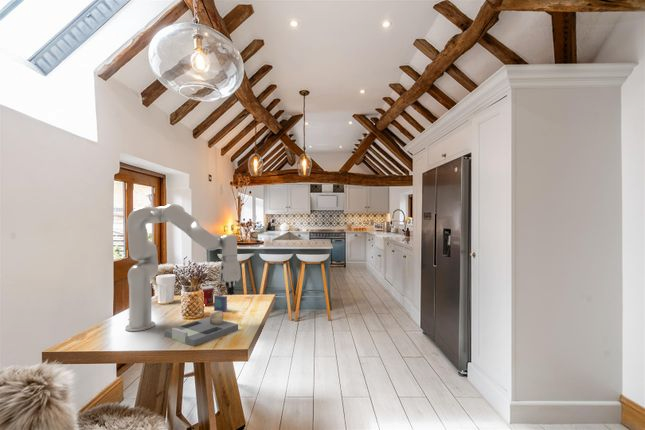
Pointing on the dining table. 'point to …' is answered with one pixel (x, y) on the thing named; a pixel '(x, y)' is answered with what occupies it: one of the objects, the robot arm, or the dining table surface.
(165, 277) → the cup
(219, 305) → the blue box
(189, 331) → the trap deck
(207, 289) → the canned food
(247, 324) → the dining table surface
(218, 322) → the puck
